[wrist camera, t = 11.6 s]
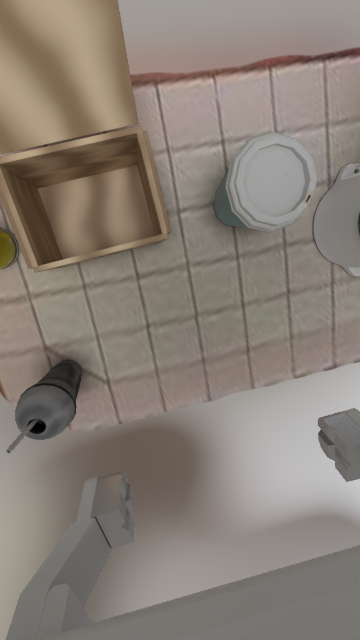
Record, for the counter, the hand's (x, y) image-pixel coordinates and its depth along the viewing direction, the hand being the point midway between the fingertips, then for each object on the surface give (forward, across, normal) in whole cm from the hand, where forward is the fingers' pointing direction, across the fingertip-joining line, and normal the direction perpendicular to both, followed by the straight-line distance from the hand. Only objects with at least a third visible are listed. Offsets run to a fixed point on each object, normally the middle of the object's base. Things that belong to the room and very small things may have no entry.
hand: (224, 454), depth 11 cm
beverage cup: (+35, +20, +12) cm, 42 cm away
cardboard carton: (+38, +7, -10) cm, 40 cm away
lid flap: (+23, +7, -22) cm, 33 cm away
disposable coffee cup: (+39, -14, -8) cm, 42 cm away
